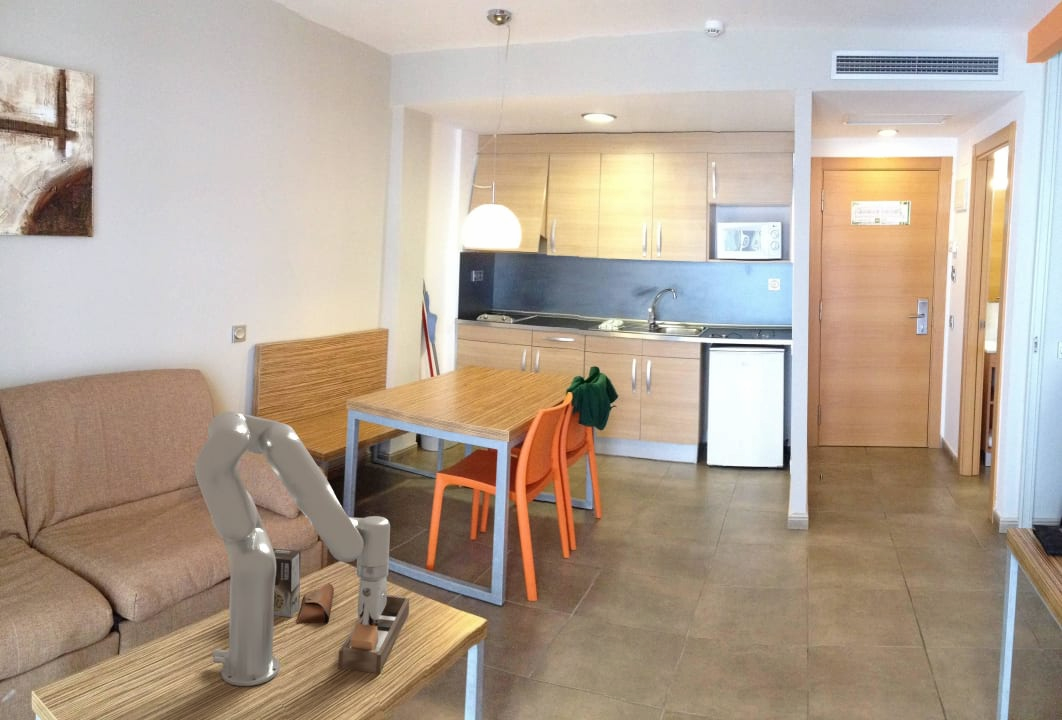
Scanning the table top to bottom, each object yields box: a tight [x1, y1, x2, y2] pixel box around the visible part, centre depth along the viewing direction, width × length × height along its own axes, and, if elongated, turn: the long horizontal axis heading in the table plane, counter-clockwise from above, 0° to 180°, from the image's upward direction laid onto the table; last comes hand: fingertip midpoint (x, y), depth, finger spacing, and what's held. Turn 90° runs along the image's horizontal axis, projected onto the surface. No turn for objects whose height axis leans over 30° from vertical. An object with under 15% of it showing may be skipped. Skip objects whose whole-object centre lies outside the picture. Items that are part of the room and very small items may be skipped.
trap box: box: [338, 594, 410, 674], centre depth 201 cm, size 10×30×5 cm, turn 176°
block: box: [351, 624, 378, 650], centre depth 189 cm, size 5×5×5 cm
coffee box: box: [273, 548, 302, 618], centre depth 211 cm, size 9×6×16 cm
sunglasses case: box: [296, 582, 335, 625], centre depth 215 cm, size 18×7×7 cm
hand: (369, 639), depth 194 cm, fingers closed
